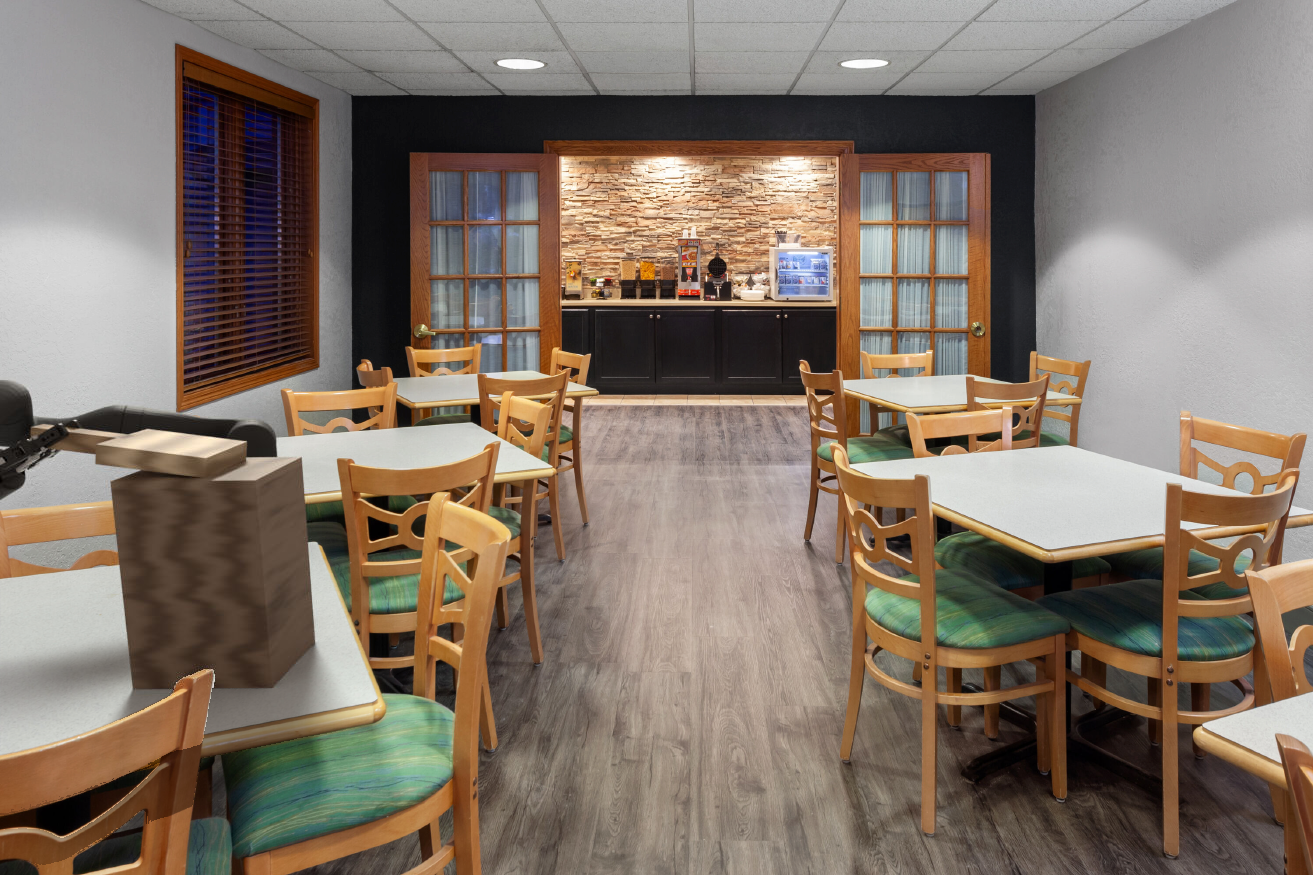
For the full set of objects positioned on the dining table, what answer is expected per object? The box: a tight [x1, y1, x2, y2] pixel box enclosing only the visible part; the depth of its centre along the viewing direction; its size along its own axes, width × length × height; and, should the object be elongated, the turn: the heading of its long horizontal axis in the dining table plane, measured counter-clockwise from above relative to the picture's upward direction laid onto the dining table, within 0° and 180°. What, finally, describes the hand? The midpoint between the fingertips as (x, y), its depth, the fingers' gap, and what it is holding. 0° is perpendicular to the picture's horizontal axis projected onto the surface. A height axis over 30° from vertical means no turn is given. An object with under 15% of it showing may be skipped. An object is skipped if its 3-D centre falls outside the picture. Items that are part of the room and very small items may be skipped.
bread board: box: [31, 424, 247, 478], centre depth 142 cm, size 29×14×3 cm, turn 91°
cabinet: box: [110, 456, 316, 690], centre depth 145 cm, size 21×18×32 cm
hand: (71, 427), depth 141 cm, fingers closed on bread board, 3 cm apart
